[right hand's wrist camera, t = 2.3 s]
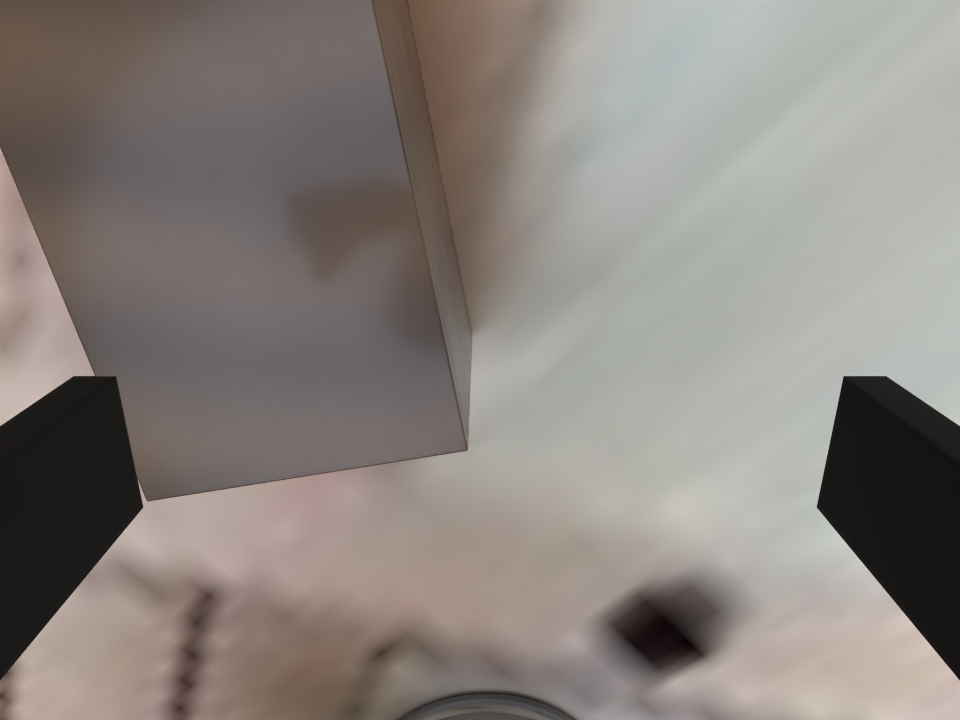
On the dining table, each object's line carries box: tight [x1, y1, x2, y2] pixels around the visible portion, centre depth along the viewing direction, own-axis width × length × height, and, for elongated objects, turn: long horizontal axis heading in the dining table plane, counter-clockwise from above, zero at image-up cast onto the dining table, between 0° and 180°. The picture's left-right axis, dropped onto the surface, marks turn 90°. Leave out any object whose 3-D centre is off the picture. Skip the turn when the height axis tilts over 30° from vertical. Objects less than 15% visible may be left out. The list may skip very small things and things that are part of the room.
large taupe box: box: [0, 0, 472, 501], centre depth 24 cm, size 21×11×12 cm, turn 10°
